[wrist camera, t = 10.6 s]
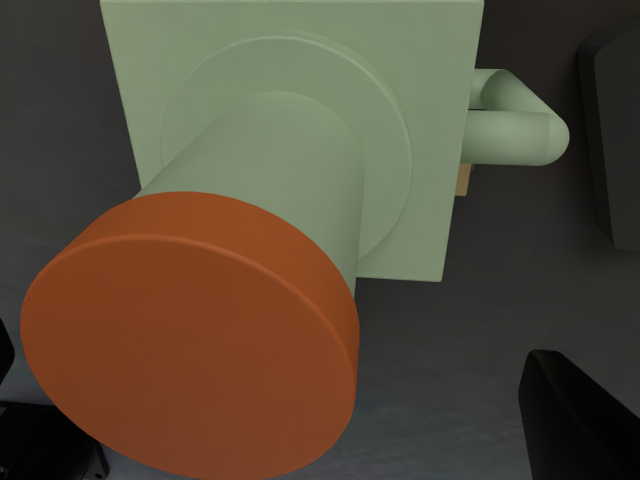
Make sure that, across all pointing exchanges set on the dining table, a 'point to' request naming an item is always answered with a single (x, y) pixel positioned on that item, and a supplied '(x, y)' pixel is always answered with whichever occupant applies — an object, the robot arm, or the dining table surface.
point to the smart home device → (614, 128)
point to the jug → (265, 219)
